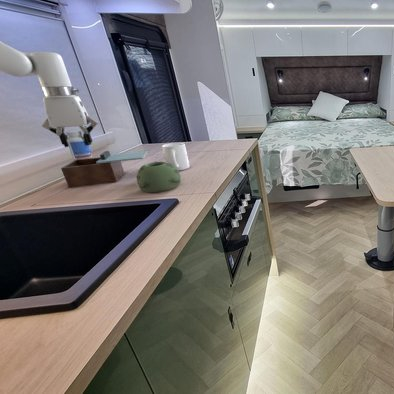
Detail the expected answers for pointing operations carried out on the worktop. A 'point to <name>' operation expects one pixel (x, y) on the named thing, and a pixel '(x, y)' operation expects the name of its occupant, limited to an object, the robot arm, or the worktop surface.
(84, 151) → the pill bottle
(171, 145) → the mug
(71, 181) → the box
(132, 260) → the worktop surface
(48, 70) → the robot arm
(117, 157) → the sliding box lid
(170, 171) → the green planter pot
